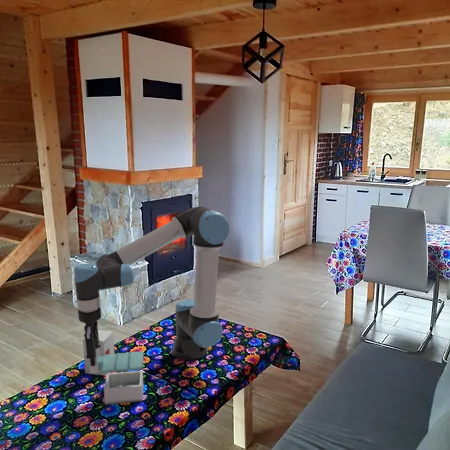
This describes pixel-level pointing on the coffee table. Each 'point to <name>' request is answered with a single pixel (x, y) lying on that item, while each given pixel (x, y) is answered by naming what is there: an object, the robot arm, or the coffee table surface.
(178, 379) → the coffee table surface
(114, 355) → the lid
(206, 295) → the robot arm
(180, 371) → the coffee table surface
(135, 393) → the tub
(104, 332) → the supplement box
